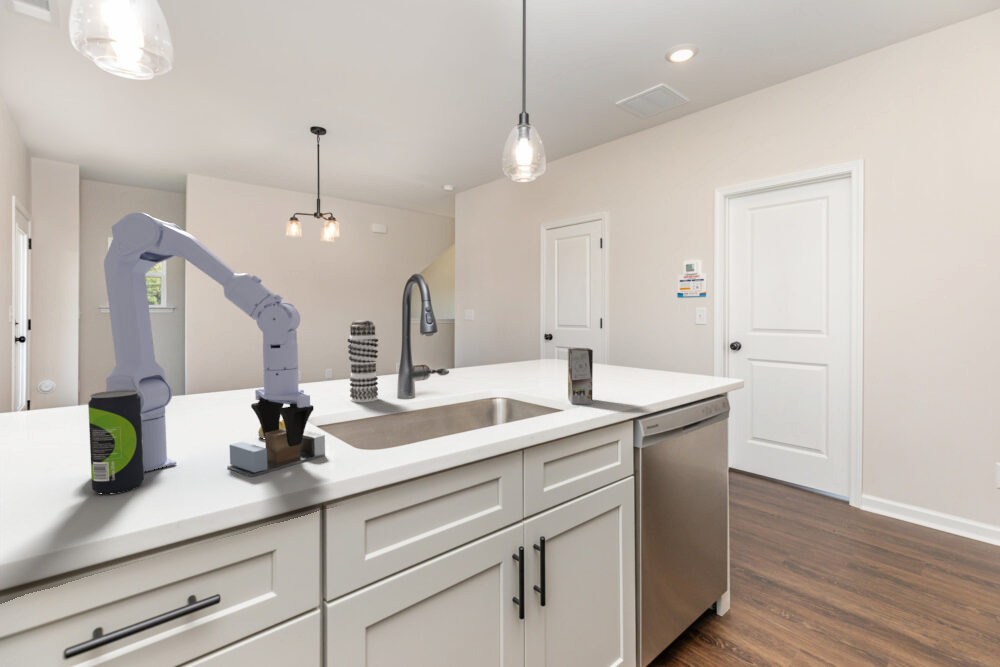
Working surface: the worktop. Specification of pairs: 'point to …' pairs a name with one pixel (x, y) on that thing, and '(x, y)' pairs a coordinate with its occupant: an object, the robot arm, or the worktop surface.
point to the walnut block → (280, 447)
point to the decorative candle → (363, 361)
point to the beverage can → (115, 441)
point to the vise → (309, 450)
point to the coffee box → (580, 375)
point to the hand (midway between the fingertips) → (282, 441)
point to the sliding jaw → (248, 456)
